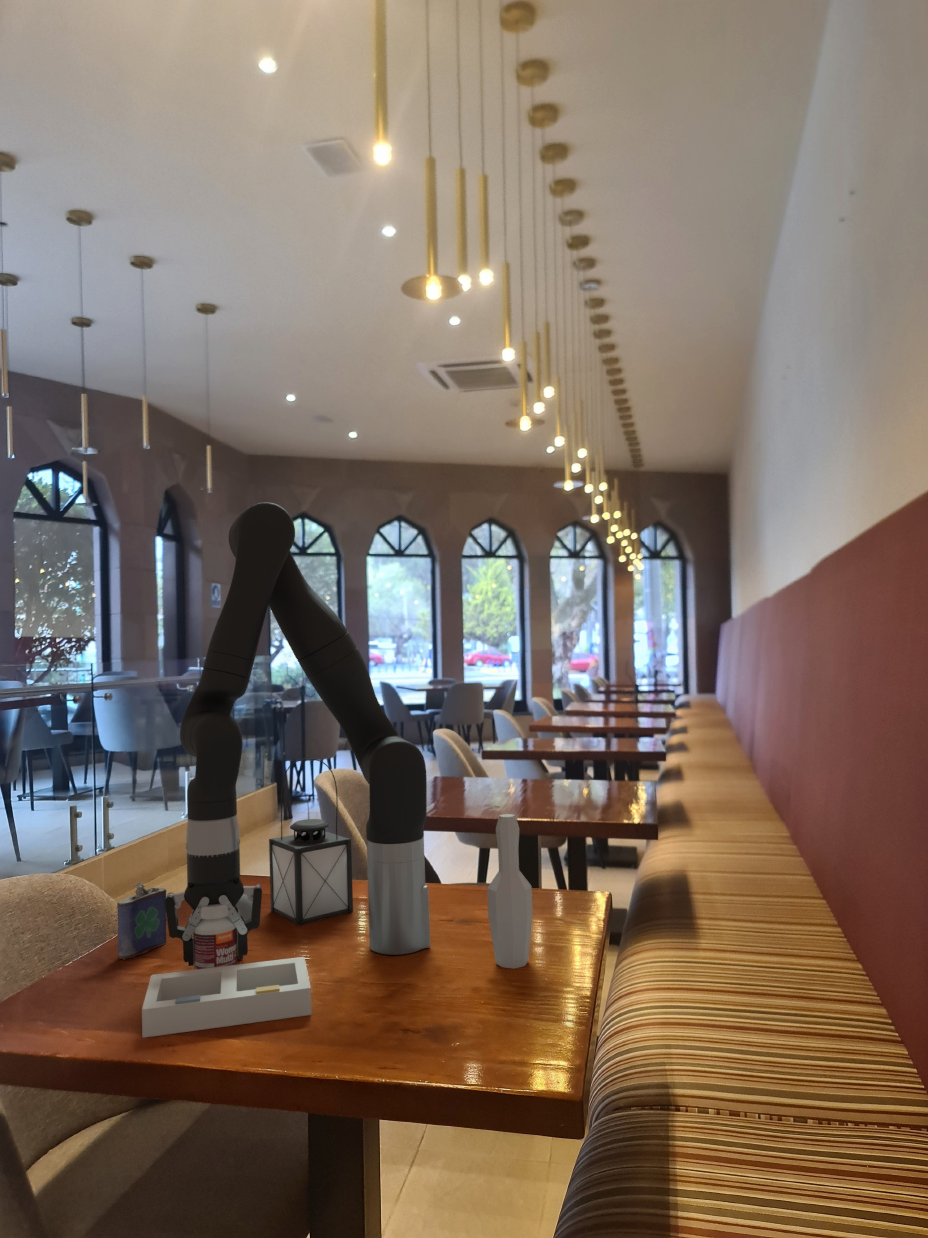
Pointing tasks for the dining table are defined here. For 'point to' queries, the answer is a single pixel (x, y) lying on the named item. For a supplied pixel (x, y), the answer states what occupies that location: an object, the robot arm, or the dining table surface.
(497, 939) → the faceted bottle
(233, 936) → the pill bottle
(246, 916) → the light bulb
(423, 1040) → the dining table surface
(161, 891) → the flask
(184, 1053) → the dining table surface
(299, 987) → the socket block
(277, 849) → the lantern
